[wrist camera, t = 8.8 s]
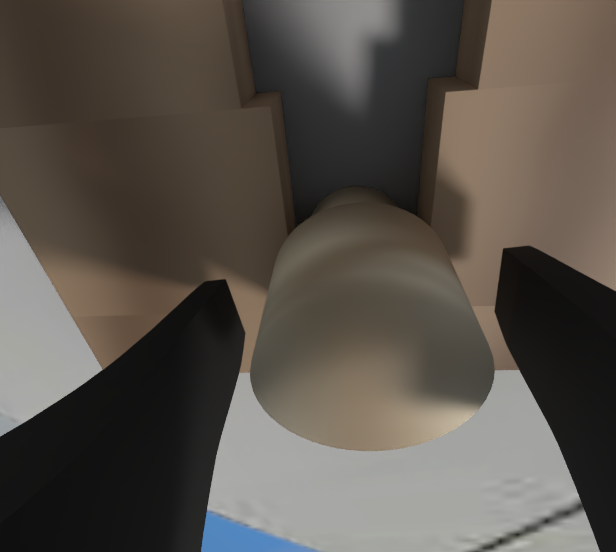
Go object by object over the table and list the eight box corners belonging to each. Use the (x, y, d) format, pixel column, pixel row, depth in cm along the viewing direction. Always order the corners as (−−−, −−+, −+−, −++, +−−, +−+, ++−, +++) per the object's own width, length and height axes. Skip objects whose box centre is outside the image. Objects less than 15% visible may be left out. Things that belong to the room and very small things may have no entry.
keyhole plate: (1213, -825, 4) (1737, -1323, 3) (617, 328, 15) (652, 368, 13) (-257, -437, 6) (-461, -590, 5) (127, 338, 17) (105, 373, 15)
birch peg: (429, 151, 11) (512, 278, 6) (426, 281, 14) (480, 448, 9) (272, 171, 12) (220, 302, 7) (298, 291, 15) (275, 453, 9)
